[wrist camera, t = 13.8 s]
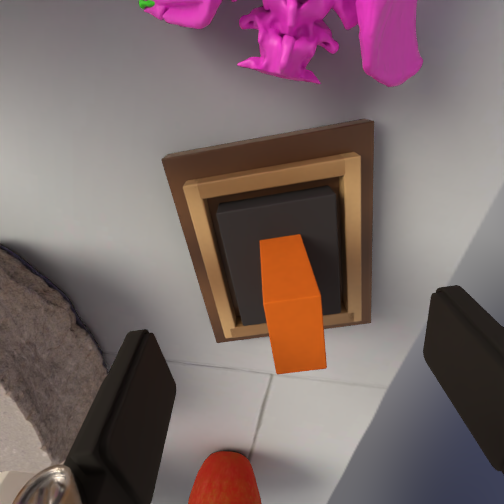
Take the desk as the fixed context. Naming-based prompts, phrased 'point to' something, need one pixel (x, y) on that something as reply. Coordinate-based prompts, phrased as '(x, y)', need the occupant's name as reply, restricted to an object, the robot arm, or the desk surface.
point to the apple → (225, 481)
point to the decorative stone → (41, 369)
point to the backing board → (273, 182)
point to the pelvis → (314, 33)
